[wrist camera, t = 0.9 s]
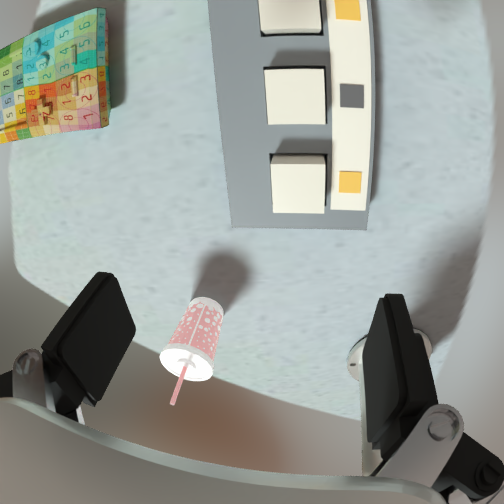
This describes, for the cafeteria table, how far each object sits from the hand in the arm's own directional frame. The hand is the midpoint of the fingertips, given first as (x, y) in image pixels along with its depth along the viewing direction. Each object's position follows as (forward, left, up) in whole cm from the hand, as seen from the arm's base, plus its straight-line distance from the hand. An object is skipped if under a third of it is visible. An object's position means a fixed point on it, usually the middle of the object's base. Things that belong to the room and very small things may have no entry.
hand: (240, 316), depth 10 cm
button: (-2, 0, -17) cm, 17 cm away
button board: (+4, -5, -19) cm, 20 cm away
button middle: (+4, -5, -17) cm, 18 cm away
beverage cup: (-10, +19, -20) cm, 29 cm away
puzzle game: (+24, +13, -20) cm, 34 cm away
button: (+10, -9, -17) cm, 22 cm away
